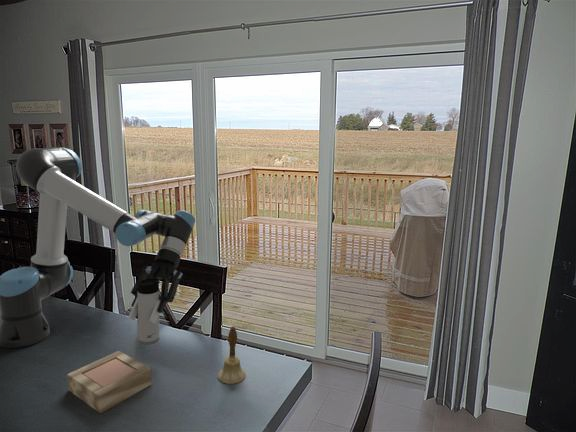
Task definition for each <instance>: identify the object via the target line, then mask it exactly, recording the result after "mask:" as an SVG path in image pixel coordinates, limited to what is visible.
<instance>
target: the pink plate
mask: <svg viewBox="0 0 576 432" xmlns="http://www.w3.org/2000/svg"><path fill="white" fill-rule="evenodd" d="M134 371H136V370H135V369H133V368H131V367H129V366H128V365H126V364H124V363H123V362H121V361H119V360H117V359H114V360H111V361H109V362H107V363H105V364H103V365H101V366H99V367H97V368H95V369H92V370H90V371H88V372H86V373H84V374H83V375H85V376H86V377H88V378H89V379H91V380H92V381H94V382H95V383H97V384H98V385H100V386H101V387H105V386H107V385H109V384H111V383H113V382H115V381H117V380H119V379H121V378H123V377H124V376H126V375H128V374H130V373H132V372H134Z"/></svg>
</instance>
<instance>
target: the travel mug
mask: <svg viewBox="0 0 576 432" xmlns="http://www.w3.org/2000/svg"><path fill="white" fill-rule="evenodd" d="M160 283H161V282H160V280H158V279H155V278H151V279H148V278H147V279H145V280H142V281H141V282H139V283H138V284H137V288H138V290H137V299H138V314H137V341H138V343H139V344H141V345H143V346H149V345H154V344H156V343H158V342H159V340H160V314H159V315H158V318H157V320H156V323H155V324H153V323H151V322H150V321H149V319H150V317H151V315H152V312H153V310H154V307H155V305H156V303H157V300H160Z"/></svg>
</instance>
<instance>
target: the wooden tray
mask: <svg viewBox="0 0 576 432" xmlns="http://www.w3.org/2000/svg"><path fill="white" fill-rule="evenodd" d="M114 359H117V360H119V361H121V362H123V363H124V364H126V365H128V366H129V367H131V368H133V369H135V370H136V371H134V372H132V373H130V374H128V375H126V376H124V377H123V378H121V379H119V380H117V381H115V382H113V383H111V384H109V385H107V386H105V387H101V386H100V385H98V384H97V383H95V382H94V381H92V380H91V379H89V378H88V377H86V376H85V375H83V374H84V373H86V372H88V371H90V370H92V369H95V368H97V367H99V366H101V365H103V364H105V363H107V362H109V361H111V360H114ZM67 385H68V391H69V392H70V393H72V394H73V395H75V396H76V397H77V398H78V399H80V400H82V401H83V402H84V403H85V404H87V405H88V406H89V407H91V408H92V409H93V410H95V411H96V412H97V413H99V414H100V415H101V414H102V413H104V412H106V411H108V410H109V409H111V408H113V407H115V406H116V405H118V404H120V403H122V402H124V401H125V400H127V399H128V398H130V397H133V395H135V394H138V393H139V392H141V391H143V390H144V389H146V388H147V387H149V386H151V385H152V368H150V367H149V366H147V365H145V364H143V363H141V362H140V361H138V360H136V359H134V358H133V357H131V356H129V355H127V354H126V353H123V352H122V351H120V350H117V351H115V352H113V353H111V354H108V355H106V356H104V357H101V358H100V359H97V360H95V361H93V362H91V363H89V364H87V365H85V366H82V367H80V368H78V369H76V370H74V371H71V372H69V373H67Z"/></svg>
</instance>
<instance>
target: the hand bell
mask: <svg viewBox="0 0 576 432" xmlns="http://www.w3.org/2000/svg"><path fill="white" fill-rule="evenodd" d="M227 336H228V338H227V339H228V341H227V342H228V344H229V345H228V346H229V354H228V355H229V356H227V357H226V358H225V359H224V362H223V366H222V369H220V370H219V372H218V374H217V379H218V380H219V381H220V382H221V383H224V384H225V385H226V384H227V385H235V383H236V384H239V383H241V382H242V380H243V379H244V380H245V379H246V376H245V375H246V371H244V369H243V368H242V367H241V361H240V358H239V357H238V356H237V355H236V345H237V341H238V333H237V329H236V327H235V326H231V327H230V330H229V332H228V335H227ZM244 380H243V381H244ZM238 382H239V383H238Z"/></svg>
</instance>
